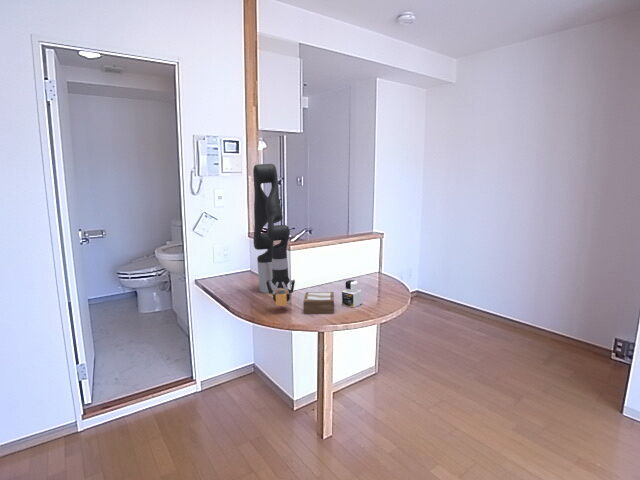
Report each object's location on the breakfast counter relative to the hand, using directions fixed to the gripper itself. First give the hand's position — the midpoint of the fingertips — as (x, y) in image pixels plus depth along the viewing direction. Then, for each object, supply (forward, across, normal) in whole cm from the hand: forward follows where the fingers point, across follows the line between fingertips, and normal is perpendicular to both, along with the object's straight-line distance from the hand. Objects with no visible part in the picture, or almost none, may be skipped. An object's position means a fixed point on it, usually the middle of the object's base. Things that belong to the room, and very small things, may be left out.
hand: (281, 301), depth 180 cm
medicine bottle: (+5, -34, -6) cm, 35 cm away
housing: (+1, 0, 0) cm, 1 cm away
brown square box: (+5, -18, -1) cm, 19 cm away
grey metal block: (+5, 0, -12) cm, 13 cm away
